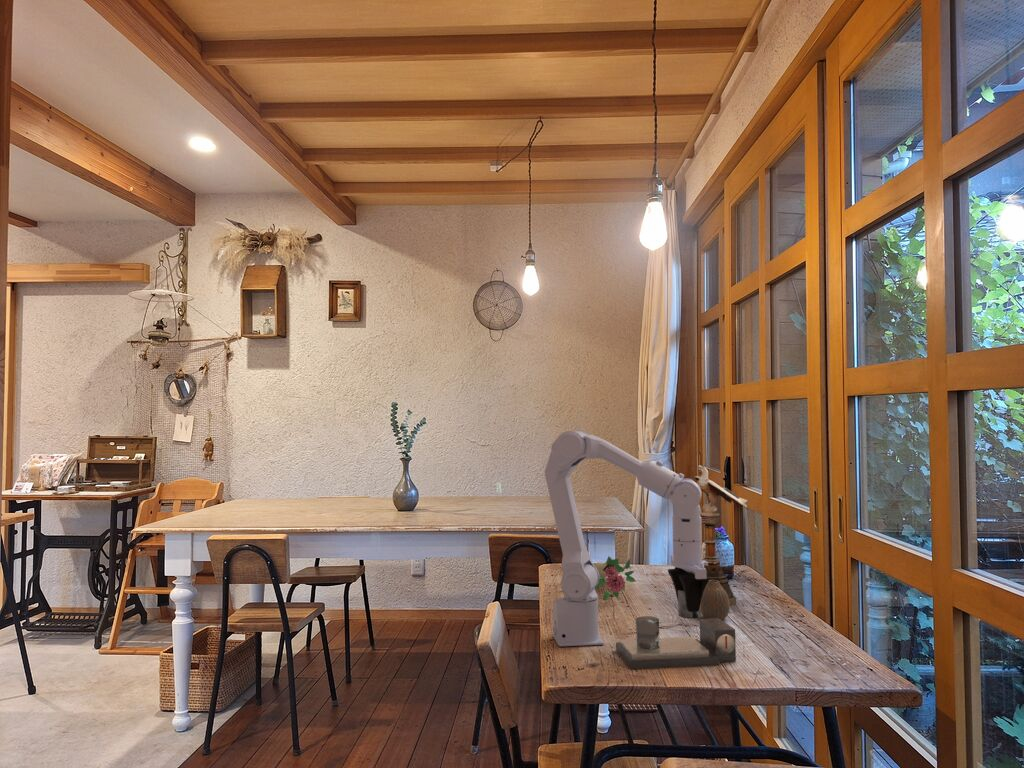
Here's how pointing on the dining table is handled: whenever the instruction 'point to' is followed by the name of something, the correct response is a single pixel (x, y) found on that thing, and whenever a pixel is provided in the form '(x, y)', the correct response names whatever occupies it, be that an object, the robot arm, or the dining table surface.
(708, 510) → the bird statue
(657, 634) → the cylinder
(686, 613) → the ball
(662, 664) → the scale
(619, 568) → the flower vase
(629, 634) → the dining table surface
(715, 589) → the brown egg-shaped piece
